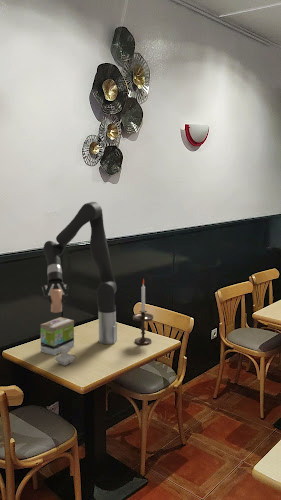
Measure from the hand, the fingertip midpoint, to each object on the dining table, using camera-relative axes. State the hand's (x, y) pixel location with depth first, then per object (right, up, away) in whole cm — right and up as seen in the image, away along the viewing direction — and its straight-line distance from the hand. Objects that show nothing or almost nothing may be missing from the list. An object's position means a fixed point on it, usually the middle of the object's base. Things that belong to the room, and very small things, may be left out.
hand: (56, 303), depth 233 cm
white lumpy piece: (+6, -28, -11) cm, 31 cm away
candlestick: (+44, -23, +16) cm, 52 cm away
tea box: (0, -25, +6) cm, 26 cm away
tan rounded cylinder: (0, -4, +3) cm, 5 cm away
